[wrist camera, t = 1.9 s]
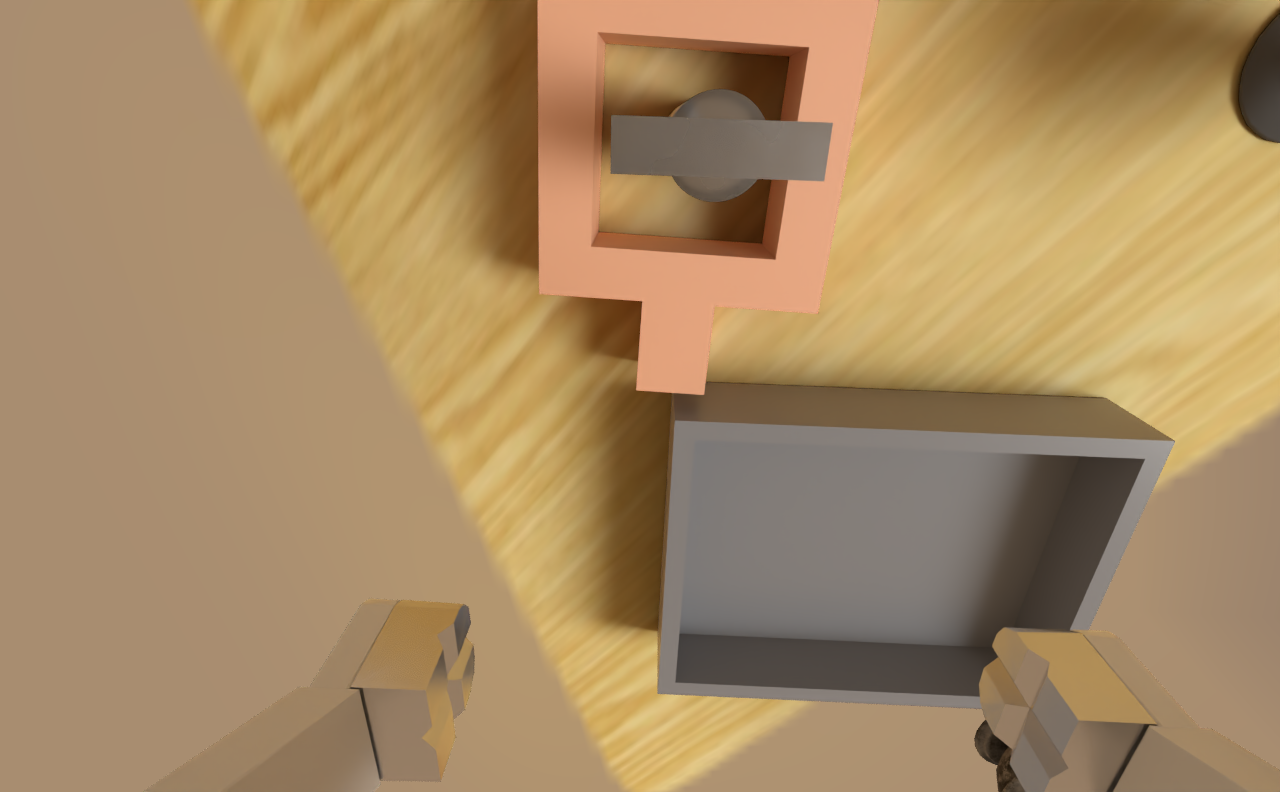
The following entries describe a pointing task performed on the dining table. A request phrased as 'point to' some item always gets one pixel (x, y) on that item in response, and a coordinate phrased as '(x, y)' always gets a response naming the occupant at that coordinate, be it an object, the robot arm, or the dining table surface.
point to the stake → (719, 146)
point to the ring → (683, 267)
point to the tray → (885, 535)
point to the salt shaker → (997, 758)
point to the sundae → (1263, 85)
